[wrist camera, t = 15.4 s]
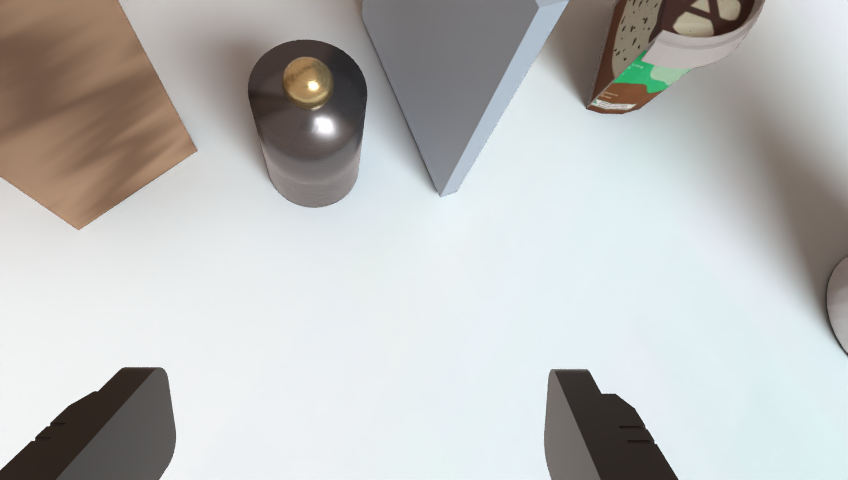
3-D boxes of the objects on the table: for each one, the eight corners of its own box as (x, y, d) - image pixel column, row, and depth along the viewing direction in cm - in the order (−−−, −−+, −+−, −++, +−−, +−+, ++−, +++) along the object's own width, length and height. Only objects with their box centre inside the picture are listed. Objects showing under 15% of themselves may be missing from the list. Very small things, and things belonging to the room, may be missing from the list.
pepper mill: (320, 109, 37) (315, -5, 26) (376, 172, 36) (394, 80, 26) (249, 159, 35) (215, 57, 25) (307, 225, 34) (297, 149, 24)
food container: (662, 156, 40) (765, 79, 30) (581, 126, 39) (660, 38, 30) (689, 20, 44) (788, -86, 34) (616, -8, 43) (695, -124, 34)
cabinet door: (361, 15, 39) (384, -294, 21) (396, 6, 39) (446, -300, 22) (439, 197, 36) (539, 7, 19) (476, 184, 36) (604, -10, 19)
